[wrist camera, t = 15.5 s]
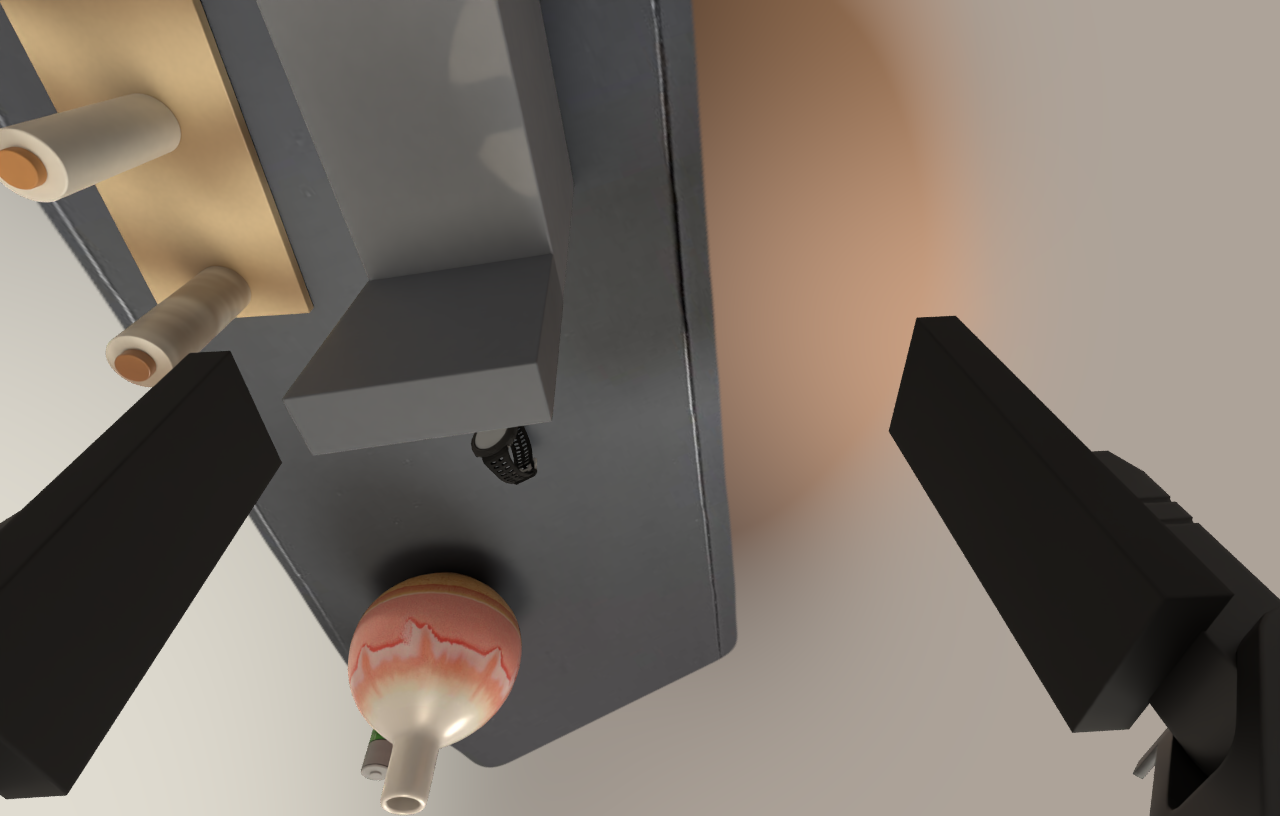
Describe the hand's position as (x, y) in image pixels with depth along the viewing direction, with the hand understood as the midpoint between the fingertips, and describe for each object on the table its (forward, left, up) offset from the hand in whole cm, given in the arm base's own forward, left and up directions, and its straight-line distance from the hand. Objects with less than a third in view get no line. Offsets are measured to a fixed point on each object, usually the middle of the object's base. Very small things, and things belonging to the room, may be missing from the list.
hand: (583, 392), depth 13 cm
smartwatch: (+22, +1, -28) cm, 36 cm away
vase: (+42, +1, -28) cm, 51 cm away
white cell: (+8, -22, -27) cm, 36 cm away
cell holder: (+8, -22, -28) cm, 36 cm away
